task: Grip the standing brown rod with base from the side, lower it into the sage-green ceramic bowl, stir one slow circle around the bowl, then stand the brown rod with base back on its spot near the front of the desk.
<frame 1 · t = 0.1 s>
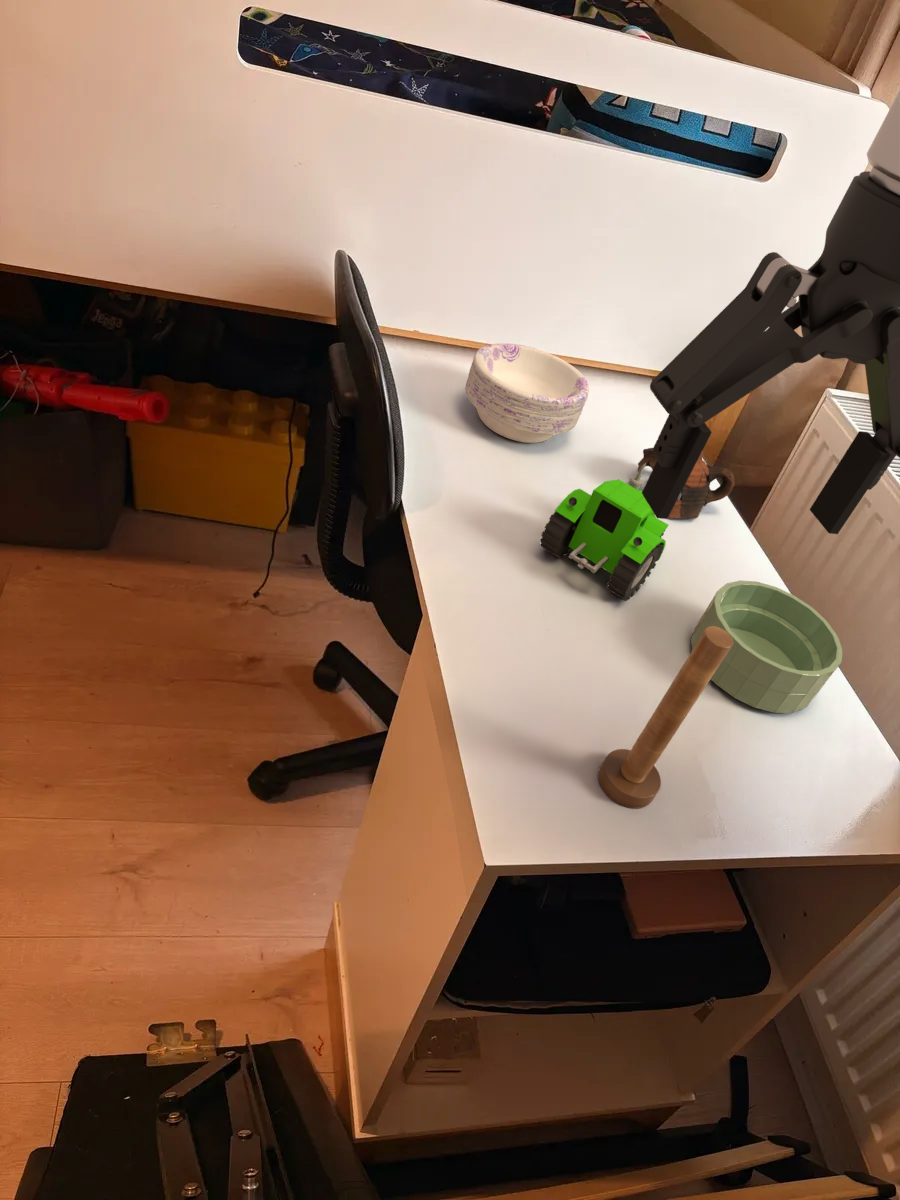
hand: (741, 514, 60), 26 cm above the table, tool pointing down, fingers open, 13 cm apart
pottery mug: (673, 501, 114), on the table
paper bowls: (513, 425, 117), on the table
toy tractor: (601, 560, 100), on the table
bowl: (749, 667, 92), on the table
brown rod with base: (625, 783, 75), on the table
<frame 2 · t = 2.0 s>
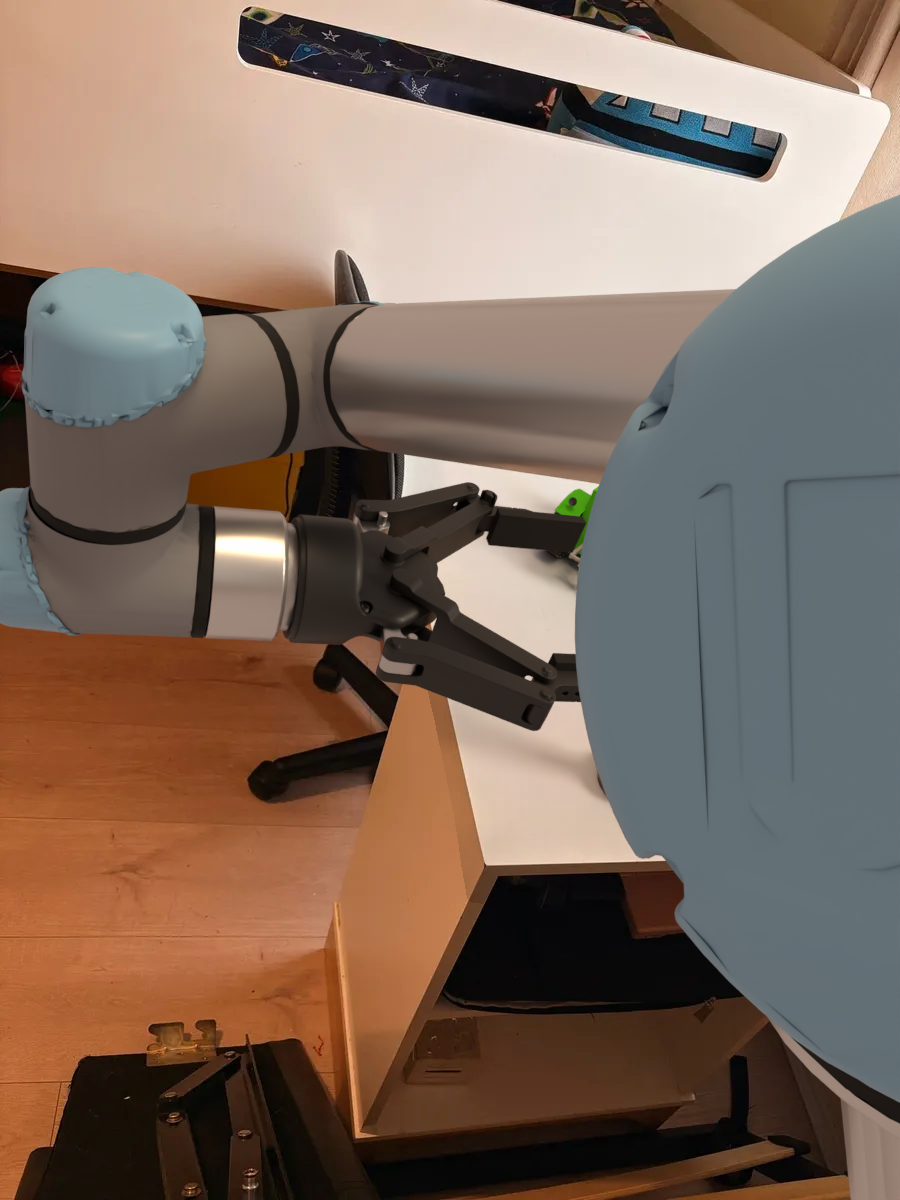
hand: (609, 600, 59), 20 cm above the table, tool horizontal, fingers open, 13 cm apart
nothing on the table moved.
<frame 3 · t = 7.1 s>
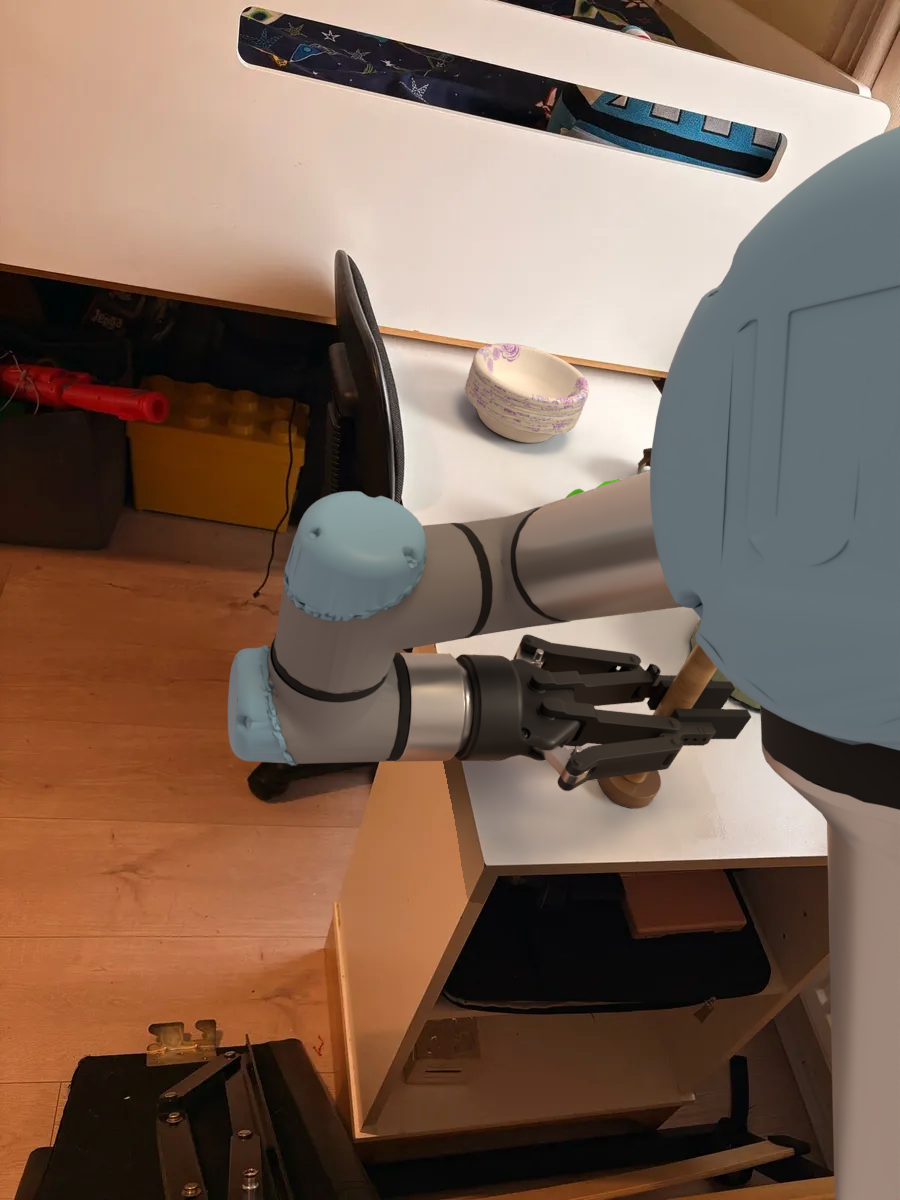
hand: (732, 710, 71), 10 cm above the table, tool horizontal, fingers closed on brown rod with base, 2 cm apart
brown rod with base: (625, 783, 75), on the table, touching gripper
everything else where it was.
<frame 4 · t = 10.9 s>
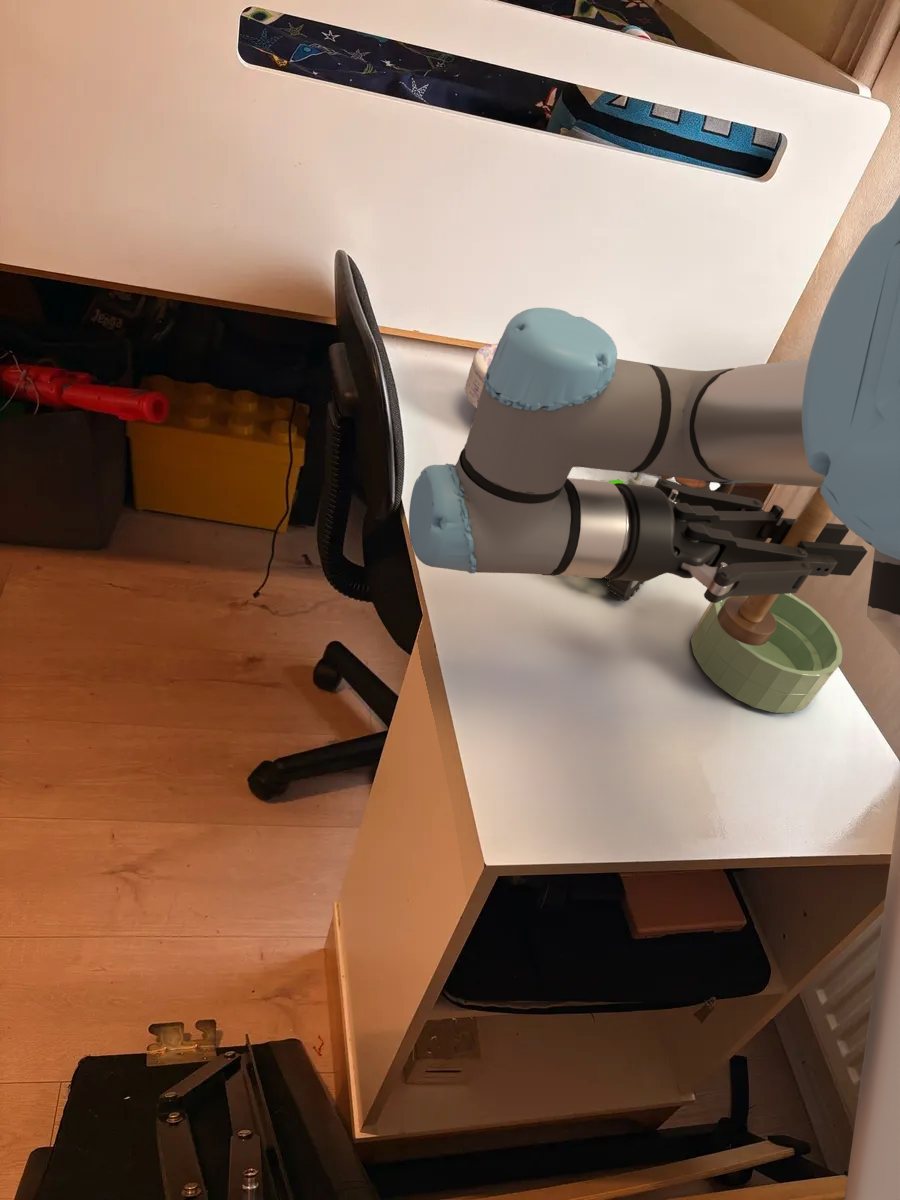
hand: (847, 550, 78), 18 cm above the table, tool horizontal, fingers closed on brown rod with base, 2 cm apart
brown rod with base: (742, 626, 82), point 9 cm above the table, touching gripper
everything else where it was.
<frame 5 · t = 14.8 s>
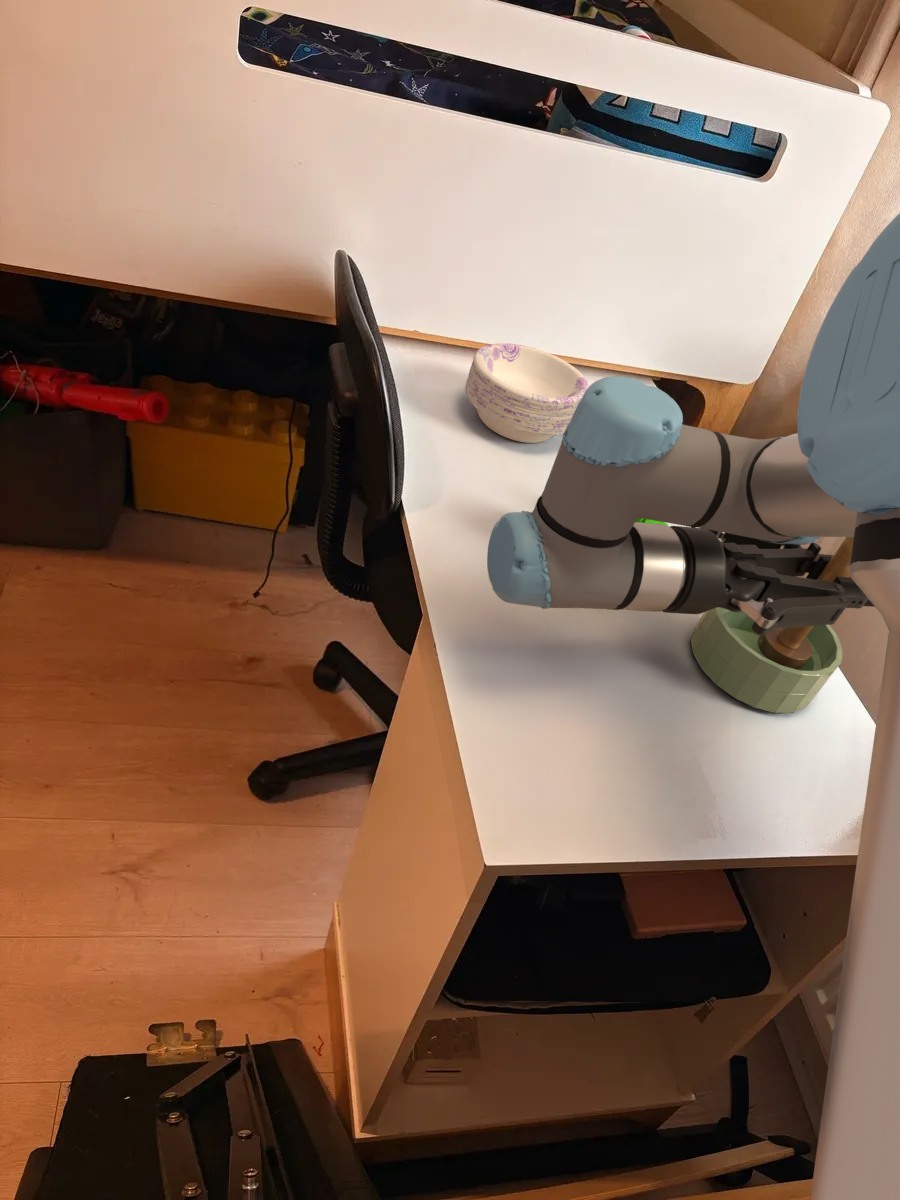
hand: (877, 583, 85), 13 cm above the table, tool horizontal, fingers closed on brown rod with base, 2 cm apart
brown rod with base: (780, 651, 89), point 4 cm above the table, touching gripper
everything else where it was.
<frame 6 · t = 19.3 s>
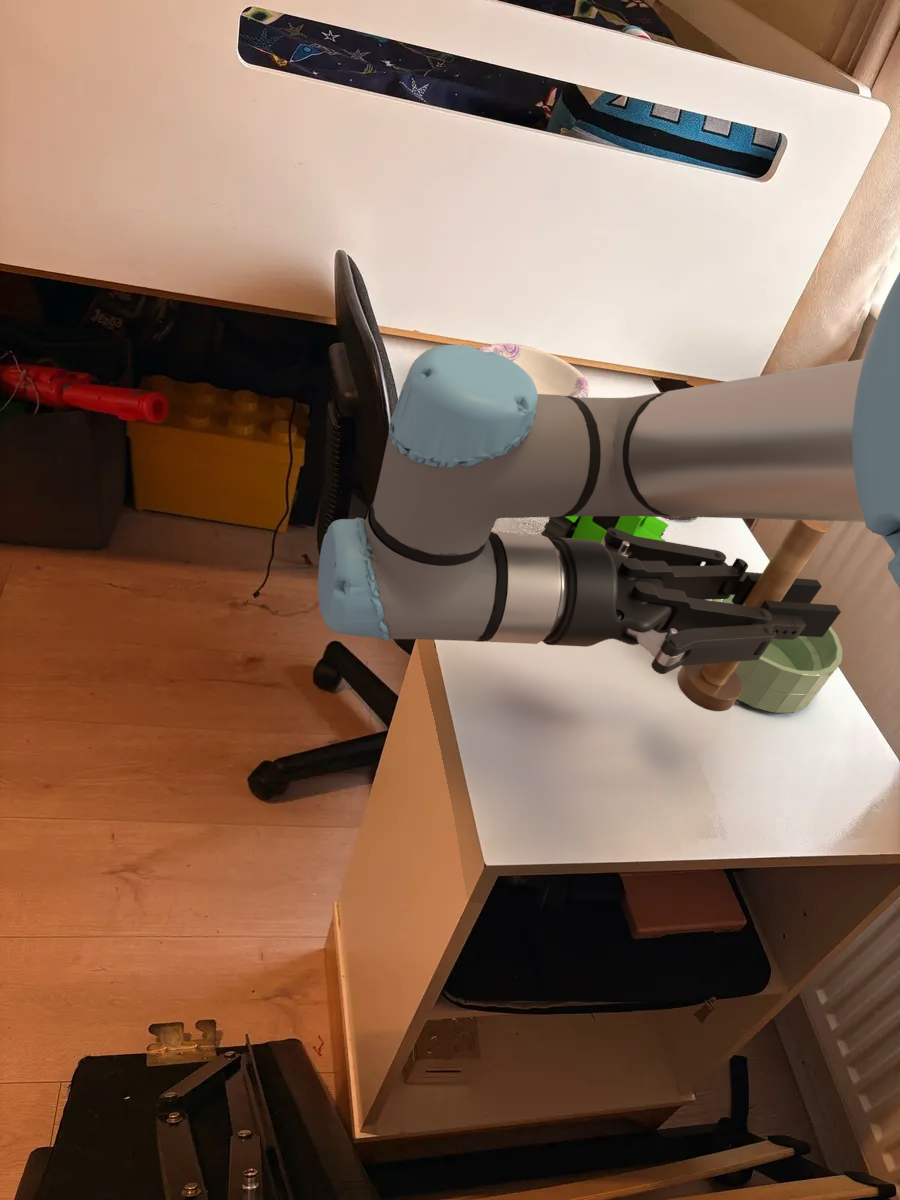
hand: (819, 608, 70), 18 cm above the table, tool horizontal, fingers closed on brown rod with base, 2 cm apart
brown rod with base: (705, 688, 74), point 8 cm above the table, touching gripper
everything else where it was.
when the fingers open (9 cm above the table, at t = 22.6 s): brown rod with base stays where it is, on the table.
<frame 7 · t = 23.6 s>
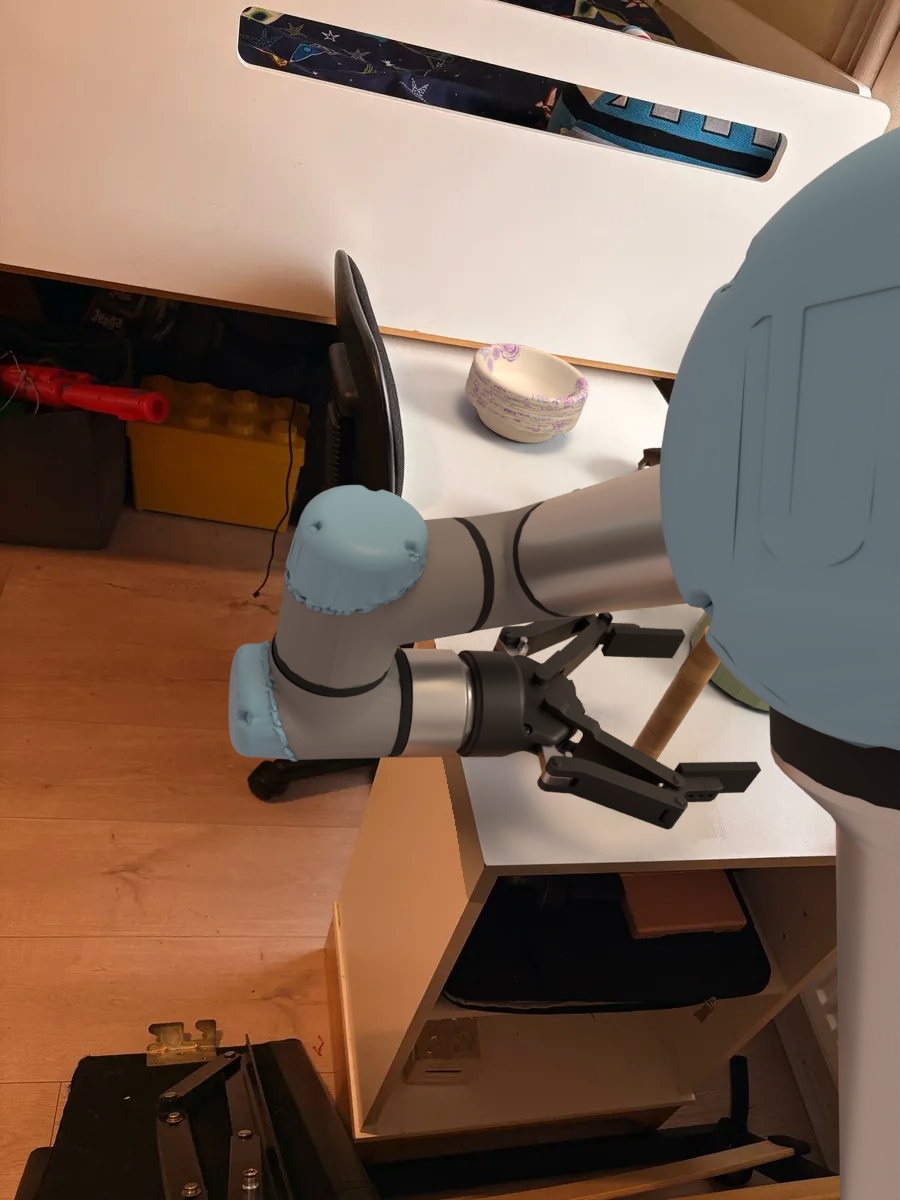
hand: (711, 706, 70), 10 cm above the table, tool horizontal, fingers open, 13 cm apart
brown rod with base: (625, 783, 75), on the table
everything else where it was.
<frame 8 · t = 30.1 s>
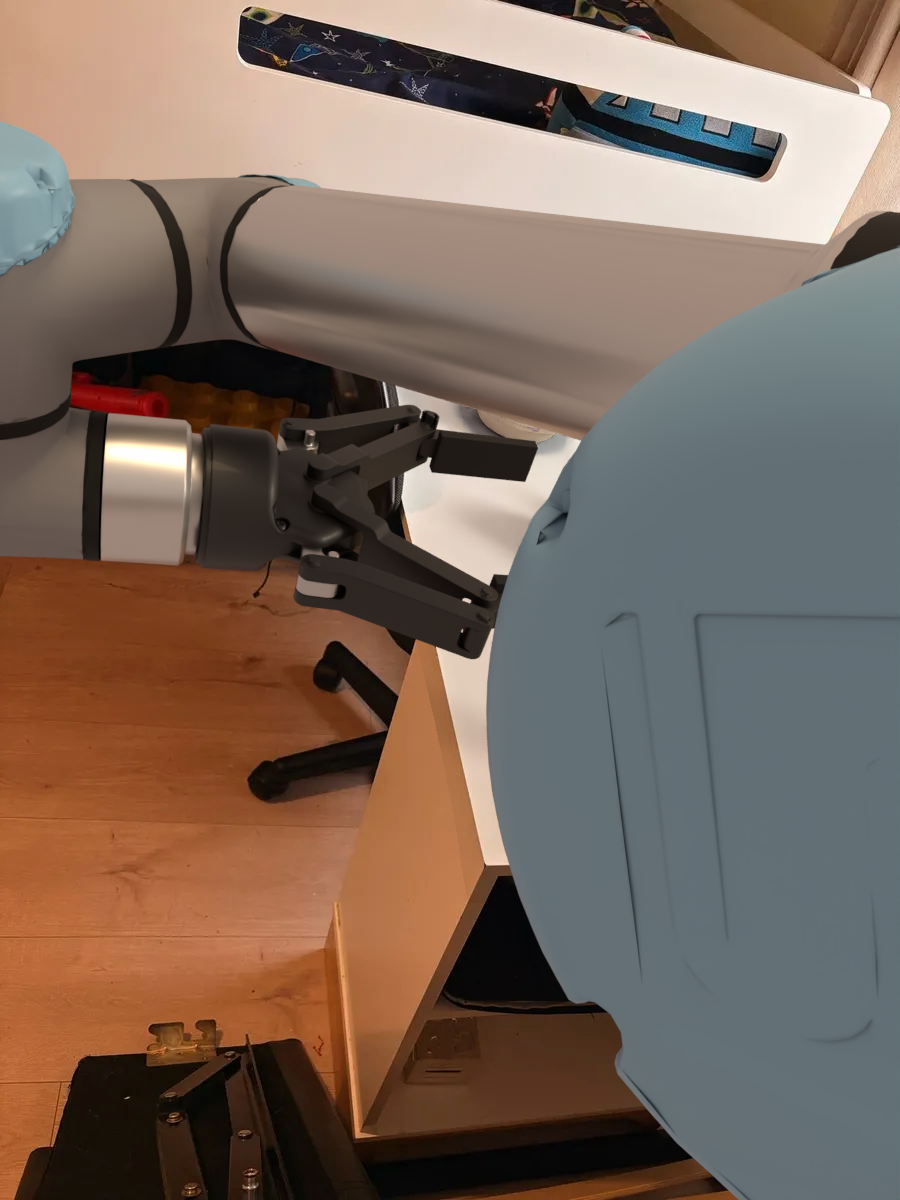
hand: (562, 526, 54), 26 cm above the table, tool horizontal, fingers open, 13 cm apart
nothing on the table moved.
at the end: brown rod with base tilted 0°; brown rod with base inside the target area on the table beside the bowl (0.0 cm from its centre), on the table; the gripper is holding nothing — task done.
